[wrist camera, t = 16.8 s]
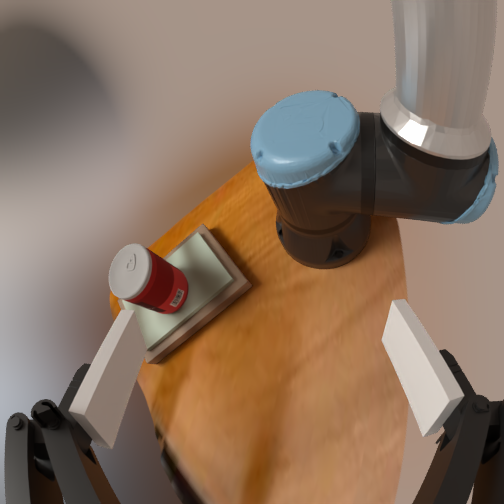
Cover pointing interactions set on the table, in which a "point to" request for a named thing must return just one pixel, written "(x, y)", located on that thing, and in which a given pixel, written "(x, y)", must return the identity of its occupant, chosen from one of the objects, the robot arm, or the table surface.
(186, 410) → the table surface
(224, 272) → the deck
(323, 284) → the table surface
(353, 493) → the table surface
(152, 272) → the canned food
